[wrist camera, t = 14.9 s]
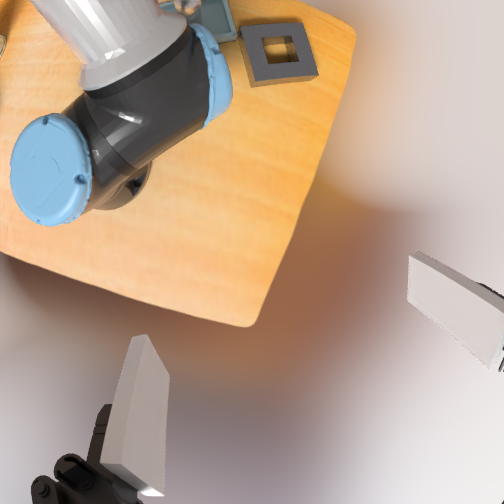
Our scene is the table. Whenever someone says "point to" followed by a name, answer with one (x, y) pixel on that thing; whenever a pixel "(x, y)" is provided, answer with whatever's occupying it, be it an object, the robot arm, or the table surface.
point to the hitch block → (279, 73)
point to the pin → (189, 10)
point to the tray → (213, 18)
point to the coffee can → (2, 44)
